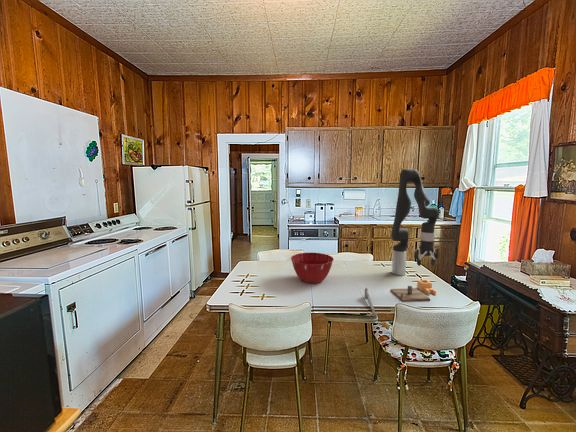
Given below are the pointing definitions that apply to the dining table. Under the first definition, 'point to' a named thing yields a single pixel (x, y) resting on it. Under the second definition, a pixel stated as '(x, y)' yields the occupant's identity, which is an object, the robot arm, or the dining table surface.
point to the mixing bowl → (312, 266)
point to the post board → (410, 294)
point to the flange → (425, 286)
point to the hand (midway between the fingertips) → (425, 265)
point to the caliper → (369, 299)
